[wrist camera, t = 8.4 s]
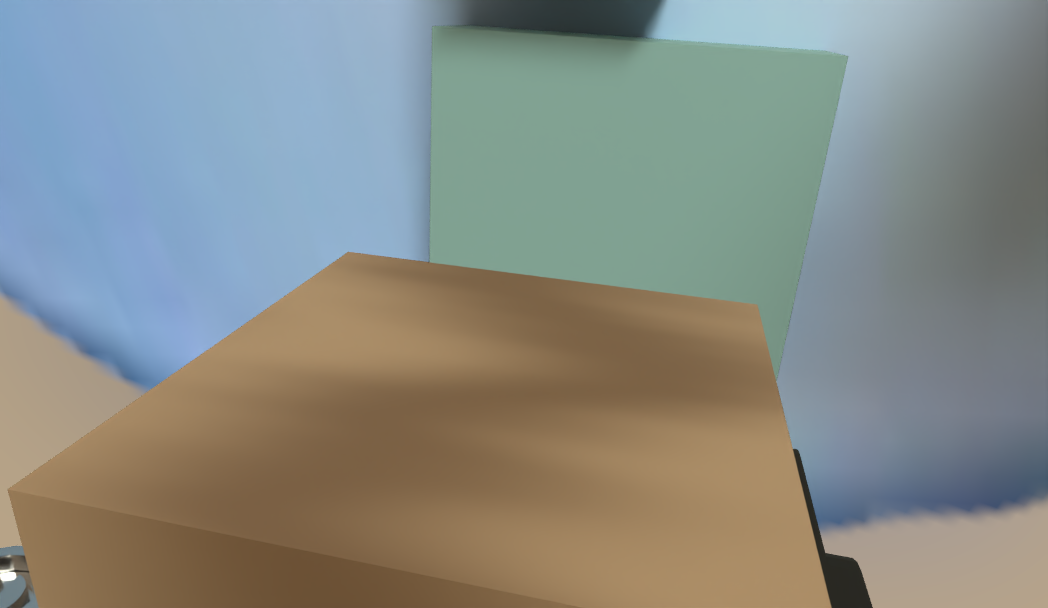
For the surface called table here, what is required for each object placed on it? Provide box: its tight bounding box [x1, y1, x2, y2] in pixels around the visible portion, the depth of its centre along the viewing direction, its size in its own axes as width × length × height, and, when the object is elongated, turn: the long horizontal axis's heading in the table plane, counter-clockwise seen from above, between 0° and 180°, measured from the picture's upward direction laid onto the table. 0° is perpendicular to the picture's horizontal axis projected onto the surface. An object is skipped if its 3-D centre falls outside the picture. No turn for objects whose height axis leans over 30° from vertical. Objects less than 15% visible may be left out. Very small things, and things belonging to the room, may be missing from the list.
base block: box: [429, 25, 848, 381], centre depth 25 cm, size 12×12×4 cm
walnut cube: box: [8, 252, 831, 608], centre depth 9 cm, size 6×6×6 cm
